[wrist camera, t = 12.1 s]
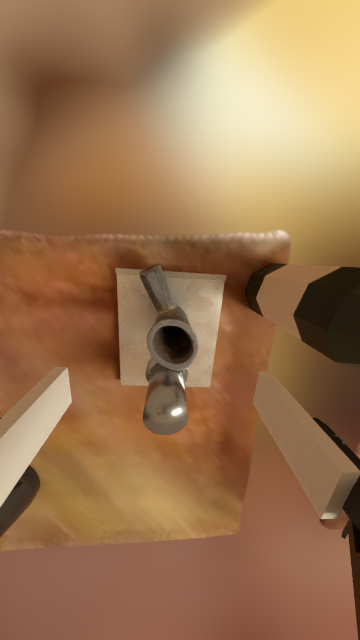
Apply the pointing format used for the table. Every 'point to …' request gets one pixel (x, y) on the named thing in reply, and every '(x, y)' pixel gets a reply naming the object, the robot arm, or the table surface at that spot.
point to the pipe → (168, 324)
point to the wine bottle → (312, 306)
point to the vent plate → (135, 359)
